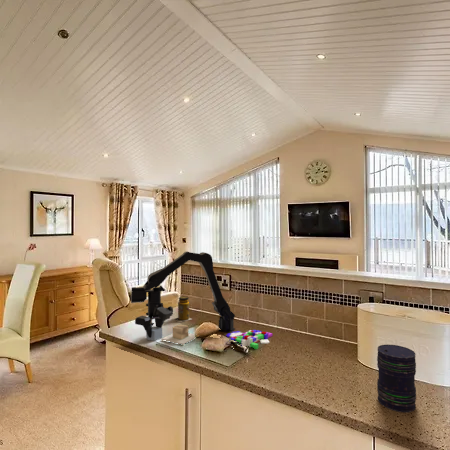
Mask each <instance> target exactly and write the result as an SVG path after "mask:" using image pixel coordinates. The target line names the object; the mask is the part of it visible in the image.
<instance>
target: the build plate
mask: <svg viewBox="0 0 450 450" xmlns="http://www.w3.org/2000/svg"><path fill="white" fill-rule="evenodd" d="M194 338H195V336H194V333H191V332H188V336H187V337H186V338H184V339H177V338H173V333H171V334H168V335H166V336H165V337H164V336H163V337H162V338H160V339H161V340H166V341H170V342H174V343H178V344H182V345H184V344H185V343H187V342H189V341H191V340H193V339H194ZM193 341H194V340H193ZM191 342H192V341H191ZM189 343H190V342H189ZM184 346H185V345H184Z"/></svg>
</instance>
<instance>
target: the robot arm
mask: <svg viewBox="0 0 450 450" xmlns="http://www.w3.org/2000/svg"><path fill="white" fill-rule="evenodd" d="M189 261H191V262H197V263H198V264H199V266H200V267H201V268H202V270H203V271H204V274H205V276H206V279H207V282H208V285H209V287H210V291H211V293H212V296H213V301H212V302H211V304H212V306H213V311H215V312H216V313H217V314H218V315H219V319H218V329H219V328H220V329H221V331H220V332H223V333H227V334H228V333H232V332H234V330H236V327H235V325H234V320H235V317H236V314H235V313H234V312H233V311H232V310H231V307H230V305H229V304H228V302H227V300H226V299H225V297H224V296H223V294H222V290H221V287H220V285H219V282H218V279H217V277H216V274H215V271H214V262H213V261H214V260H213V257H212V255H211V254H209V253H207V252H203V251H202V252H200V253H197V252H196V253H195V252H190V251H184V252H183V253H182V254H181V255H179V256H178V257H176V258H175V259H174V260H172V261H171V262H169V263H167V265H165V266H164V267H163V268H160V269H158V270H155V271H154V272H151V273H149V274H148V275H147V280H146V282H145V283H144V285H143V286H141V287H140V286H139V287H138V286H137V287H136V286H133V287H131V291H130V303H131V304H134V303H135V304H137V303H145V302H146V300H147V303H145V306H146V307H147V312H145V315H146V316H145V315H140V316H138V317H135V319H134V323H135V325H138V326H142V327H143V328H144V330H145V333H146V332H147V335H148V337H149V338H151V335H152V327H154V325H155V327H160V328H162V329H163V326H164V325H163V324H164V323H165V321H166V320H169V319H170V318H171V317H172V316H173V315H174V308H173V306H167V307H164V304H163V302H162V301H161V300H162V293H161V292H166V289H165V288H164V287H163V285H161V284H162V283H163V282H164V281H165V280H166V279H167V278H168V277H169V276H170V275H171V274H173V273H174V272H175V271H176V270H178V269H179V268H181V267H182V266H184V265H185V264H186V263H187V262H189ZM153 320H154V321H155V323H154V322H153Z"/></svg>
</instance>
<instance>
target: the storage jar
mask: <svg viewBox="0 0 450 450" xmlns="http://www.w3.org/2000/svg"><path fill="white" fill-rule="evenodd" d="M376 357H377V358H376V361H377V363H376V367H377V368H378V378H377V382H376V385H377V386H376V389H377V401H378V403H379V404H380V405H381V406H383V407H384V408H385V409H388V410H391V411H394V412H398V413H412V412H414V411H415V410H416V408H417V407H416V401H417V400H416V399H417V388H416V385H415V383H416V382H415V378H416V377H415V376H416V373H417V362H416V352H415V351H414V350H412V349H410V348H409V347H406V346H402V345H397V344H382V345H378V347H377V356H376Z"/></svg>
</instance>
